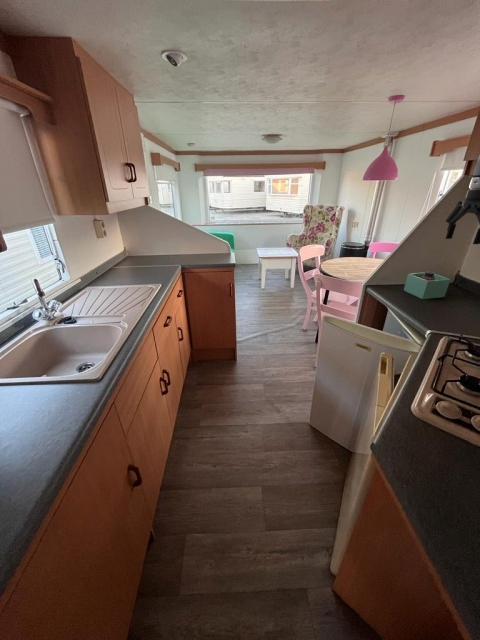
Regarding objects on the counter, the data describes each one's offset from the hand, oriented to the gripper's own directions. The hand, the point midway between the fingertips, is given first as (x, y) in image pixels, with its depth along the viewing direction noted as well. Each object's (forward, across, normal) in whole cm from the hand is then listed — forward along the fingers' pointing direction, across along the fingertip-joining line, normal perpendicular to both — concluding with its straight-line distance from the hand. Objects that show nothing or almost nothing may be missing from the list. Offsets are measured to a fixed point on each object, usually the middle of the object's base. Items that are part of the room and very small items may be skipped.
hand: (461, 241), depth 120 cm
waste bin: (+31, -14, +2) cm, 34 cm away
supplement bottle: (+30, -14, +3) cm, 33 cm away
